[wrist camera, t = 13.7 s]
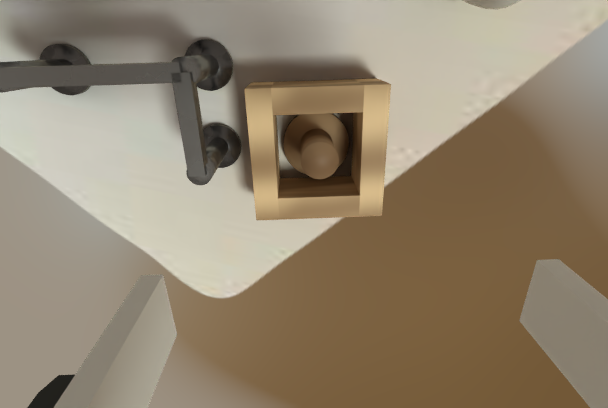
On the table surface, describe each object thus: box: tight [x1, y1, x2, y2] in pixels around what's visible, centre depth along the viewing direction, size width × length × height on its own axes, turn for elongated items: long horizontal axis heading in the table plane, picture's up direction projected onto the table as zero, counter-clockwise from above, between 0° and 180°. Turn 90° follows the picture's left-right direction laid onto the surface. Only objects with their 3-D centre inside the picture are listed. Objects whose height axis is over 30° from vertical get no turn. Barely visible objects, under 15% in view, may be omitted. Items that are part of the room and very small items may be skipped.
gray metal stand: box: [0, 40, 241, 185], centre depth 28 cm, size 11×16×9 cm
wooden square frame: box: [244, 78, 391, 220], centre depth 31 cm, size 11×11×5 cm
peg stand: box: [284, 113, 349, 179], centre depth 31 cm, size 6×6×6 cm
